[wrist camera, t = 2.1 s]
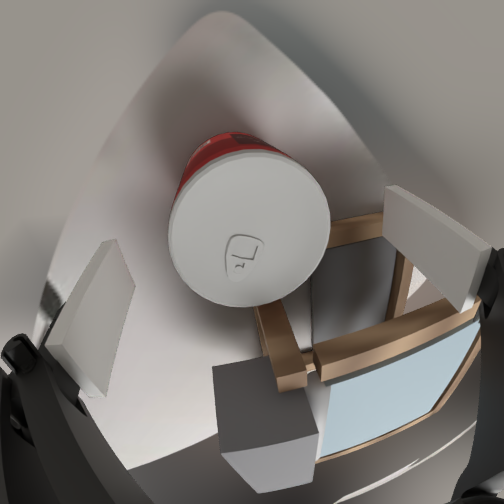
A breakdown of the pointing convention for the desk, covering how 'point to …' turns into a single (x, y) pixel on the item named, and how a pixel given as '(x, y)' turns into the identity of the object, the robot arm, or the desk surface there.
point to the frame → (358, 315)
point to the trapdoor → (325, 408)
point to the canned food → (246, 222)
